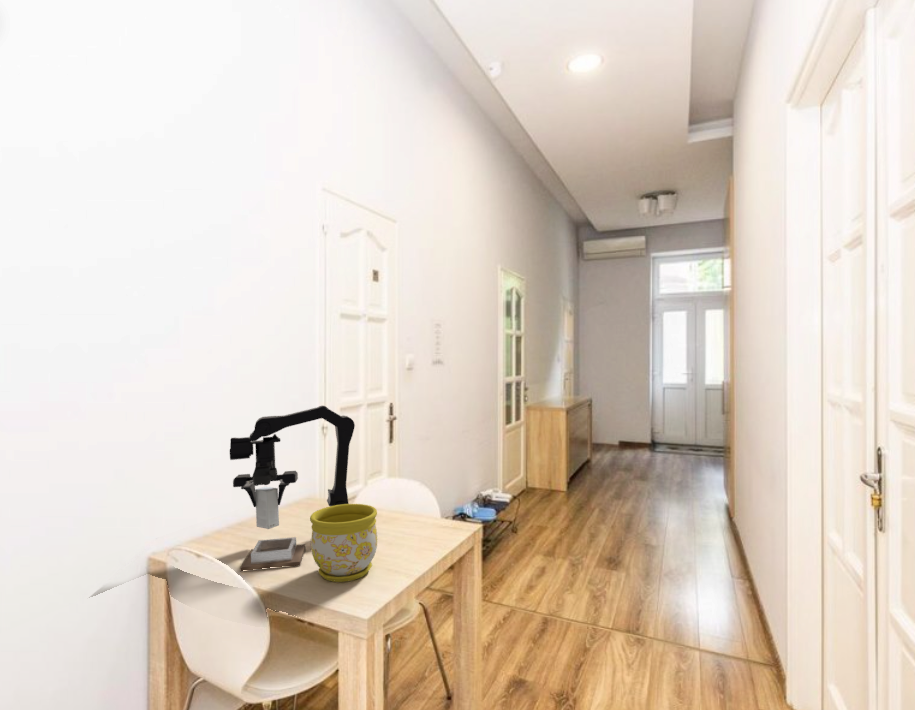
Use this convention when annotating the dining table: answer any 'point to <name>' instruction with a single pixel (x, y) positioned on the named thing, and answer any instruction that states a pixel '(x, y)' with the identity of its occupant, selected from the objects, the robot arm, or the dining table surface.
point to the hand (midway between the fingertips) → (267, 505)
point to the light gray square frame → (277, 554)
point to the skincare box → (267, 507)
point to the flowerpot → (344, 541)
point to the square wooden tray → (294, 562)
